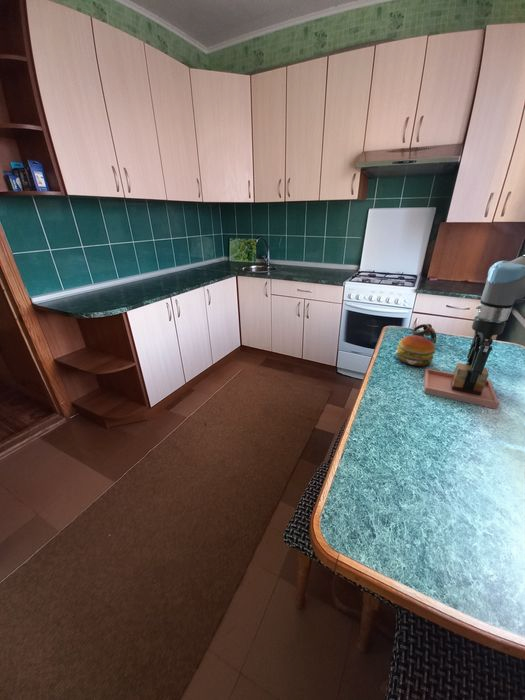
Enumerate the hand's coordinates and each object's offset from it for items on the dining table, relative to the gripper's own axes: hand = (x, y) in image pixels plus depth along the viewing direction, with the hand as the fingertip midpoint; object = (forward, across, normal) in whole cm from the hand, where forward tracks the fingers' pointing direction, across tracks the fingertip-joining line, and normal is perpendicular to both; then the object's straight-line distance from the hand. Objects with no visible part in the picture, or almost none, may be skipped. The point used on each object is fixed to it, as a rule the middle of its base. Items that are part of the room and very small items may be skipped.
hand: (466, 384), depth 95 cm
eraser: (+2, 0, 0) cm, 2 cm away
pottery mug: (+3, -40, -12) cm, 42 cm away
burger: (+3, -16, -16) cm, 23 cm away
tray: (+2, 0, -2) cm, 3 cm away
